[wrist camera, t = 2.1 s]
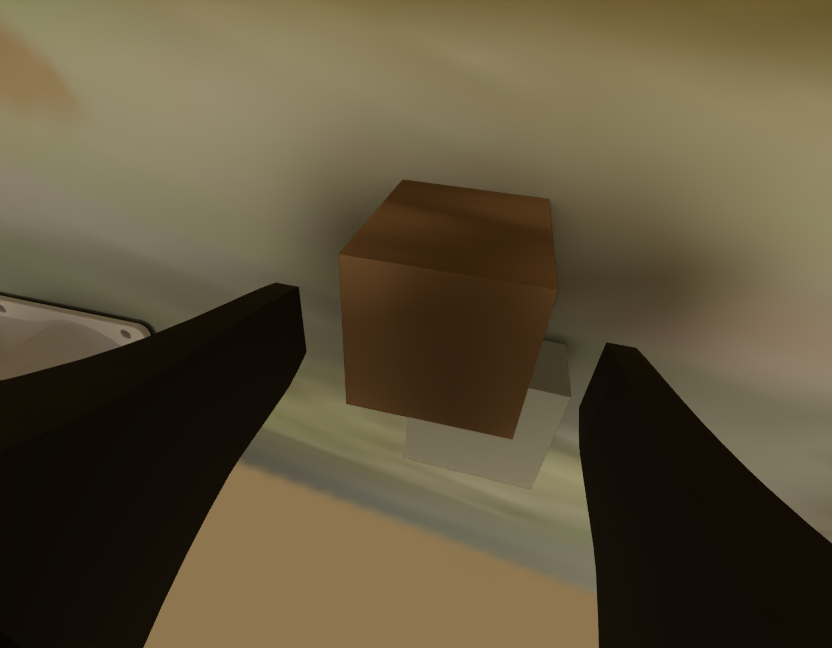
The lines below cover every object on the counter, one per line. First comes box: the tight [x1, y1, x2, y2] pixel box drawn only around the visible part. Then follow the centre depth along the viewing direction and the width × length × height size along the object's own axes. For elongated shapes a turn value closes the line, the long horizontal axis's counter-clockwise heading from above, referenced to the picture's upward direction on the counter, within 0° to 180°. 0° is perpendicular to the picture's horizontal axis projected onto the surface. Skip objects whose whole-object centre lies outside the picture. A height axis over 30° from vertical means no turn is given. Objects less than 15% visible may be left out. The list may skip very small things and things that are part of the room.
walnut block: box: [339, 180, 558, 440], centre depth 12 cm, size 4×4×6 cm
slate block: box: [404, 340, 571, 490], centre depth 16 cm, size 5×5×3 cm
